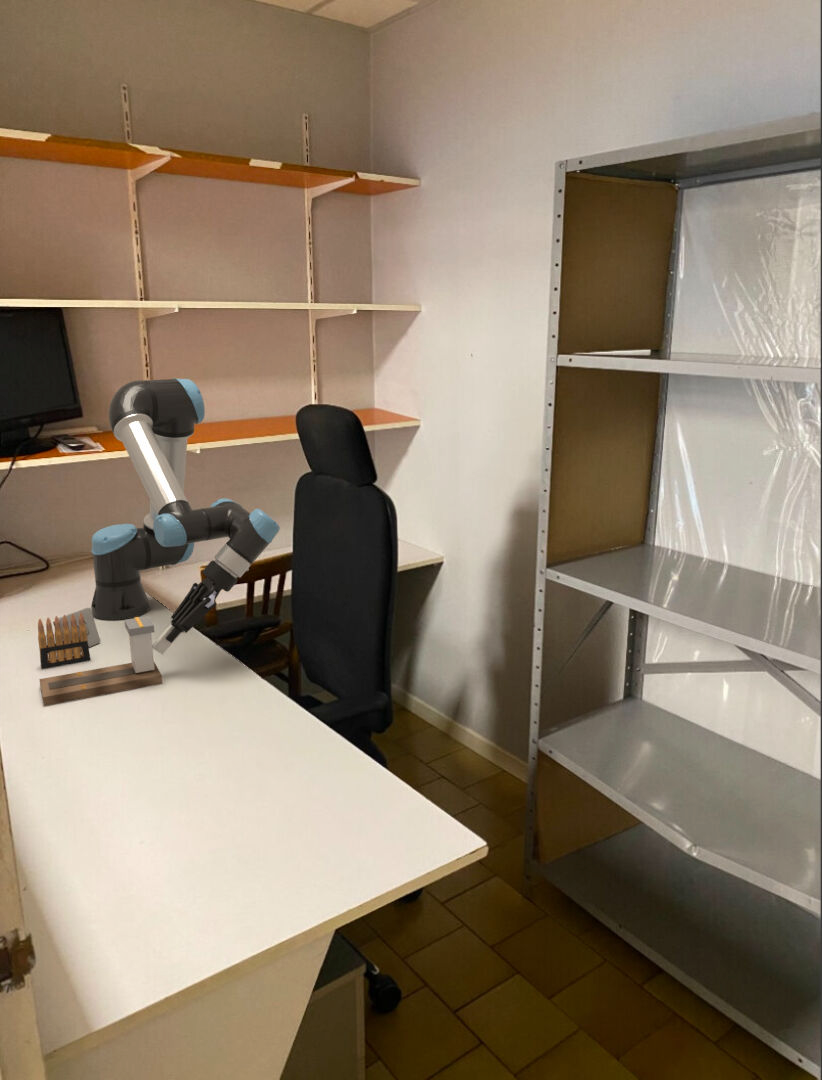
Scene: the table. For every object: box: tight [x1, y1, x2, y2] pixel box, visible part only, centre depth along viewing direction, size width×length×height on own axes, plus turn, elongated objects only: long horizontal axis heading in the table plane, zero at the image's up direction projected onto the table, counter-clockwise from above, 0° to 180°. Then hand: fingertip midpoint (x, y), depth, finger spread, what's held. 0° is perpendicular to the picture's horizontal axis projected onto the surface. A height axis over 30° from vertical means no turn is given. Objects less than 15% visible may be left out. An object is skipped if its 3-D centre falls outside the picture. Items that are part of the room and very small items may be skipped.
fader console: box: [39, 661, 163, 707], centre depth 180 cm, size 24×10×2 cm, turn 117°
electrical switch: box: [52, 607, 101, 653], centre depth 201 cm, size 9×5×9 cm, turn 152°
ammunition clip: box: [37, 612, 92, 670], centre depth 191 cm, size 11×2×12 cm, turn 119°
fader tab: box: [123, 616, 155, 673], centre depth 183 cm, size 5×6×11 cm
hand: (157, 650), depth 185 cm, fingers closed
